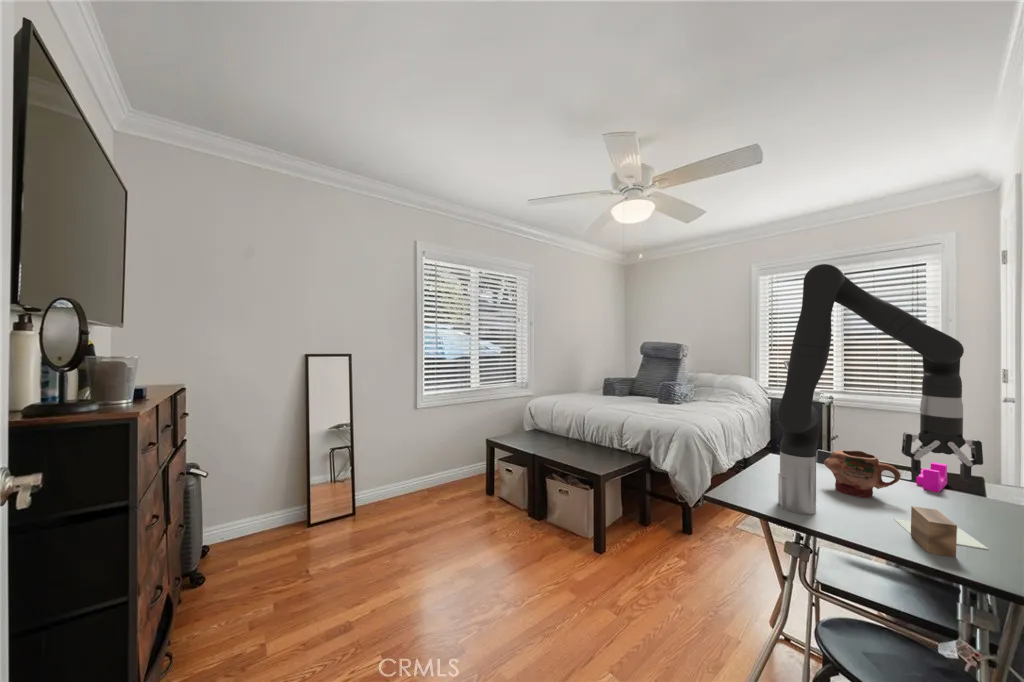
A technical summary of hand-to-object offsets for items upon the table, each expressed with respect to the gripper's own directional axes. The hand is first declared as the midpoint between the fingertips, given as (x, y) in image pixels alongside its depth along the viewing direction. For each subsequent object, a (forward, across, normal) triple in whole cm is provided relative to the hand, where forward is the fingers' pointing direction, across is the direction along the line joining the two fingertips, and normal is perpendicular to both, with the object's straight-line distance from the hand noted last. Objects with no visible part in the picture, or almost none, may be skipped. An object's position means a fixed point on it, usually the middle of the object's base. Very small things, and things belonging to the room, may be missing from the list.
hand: (940, 476), depth 103 cm
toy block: (+18, +14, +58) cm, 62 cm away
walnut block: (+17, -2, -3) cm, 18 cm away
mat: (+18, +2, +8) cm, 19 cm away
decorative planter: (+18, -10, +34) cm, 40 cm away
